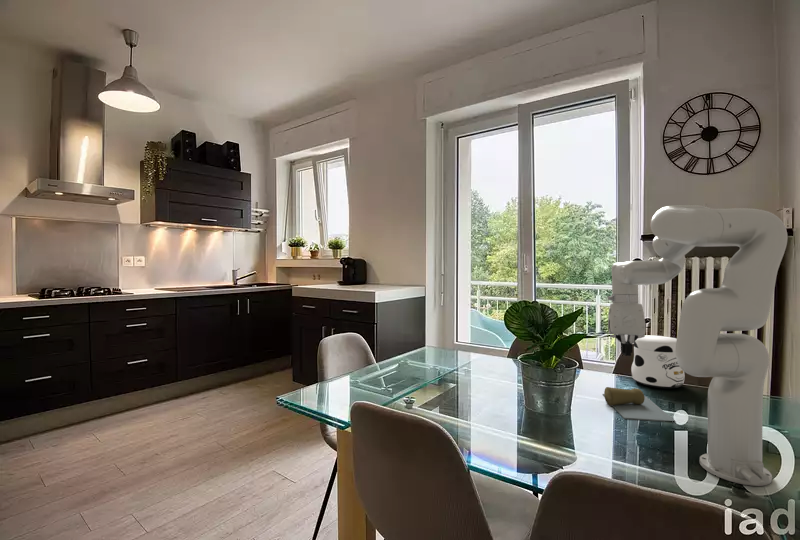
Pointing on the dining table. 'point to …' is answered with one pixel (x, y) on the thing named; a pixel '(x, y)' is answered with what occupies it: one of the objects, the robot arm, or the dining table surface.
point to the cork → (623, 396)
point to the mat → (642, 411)
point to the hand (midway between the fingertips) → (626, 355)
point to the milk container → (657, 362)
